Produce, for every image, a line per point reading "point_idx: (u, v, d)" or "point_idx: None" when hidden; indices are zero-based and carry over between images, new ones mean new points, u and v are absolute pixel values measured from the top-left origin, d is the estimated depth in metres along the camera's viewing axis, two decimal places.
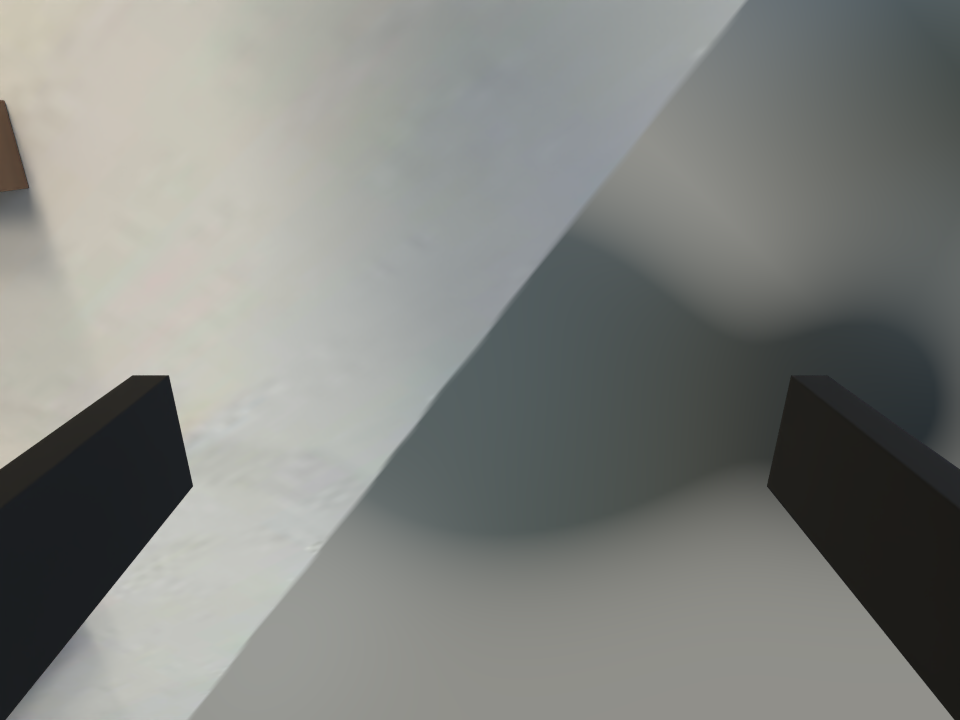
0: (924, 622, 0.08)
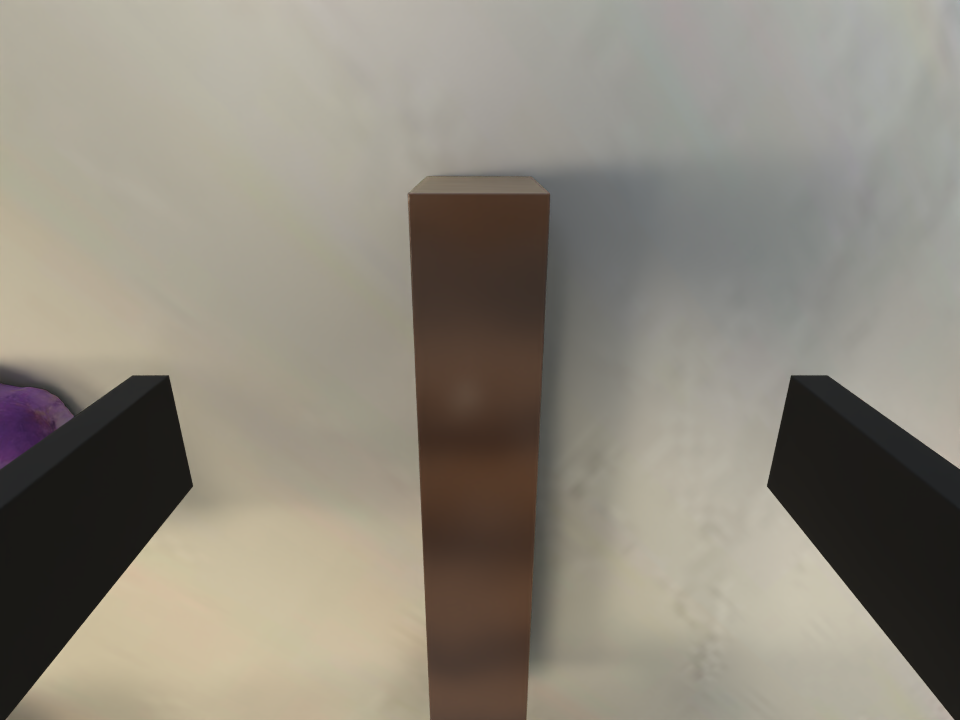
0: (925, 622, 0.08)
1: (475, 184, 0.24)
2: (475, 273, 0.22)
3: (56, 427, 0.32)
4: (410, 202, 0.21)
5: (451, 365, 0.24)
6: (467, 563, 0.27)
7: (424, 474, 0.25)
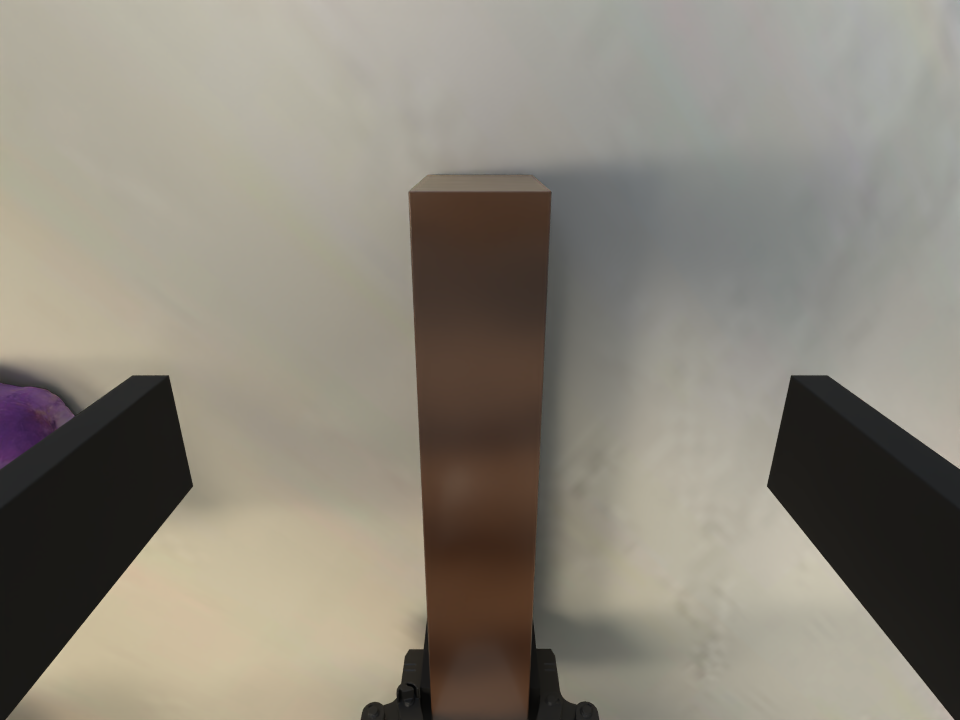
0: (925, 622, 0.08)
1: (476, 182, 0.24)
2: (476, 271, 0.22)
3: (57, 427, 0.32)
4: (411, 200, 0.21)
5: (452, 364, 0.23)
6: (469, 563, 0.27)
7: (425, 473, 0.25)
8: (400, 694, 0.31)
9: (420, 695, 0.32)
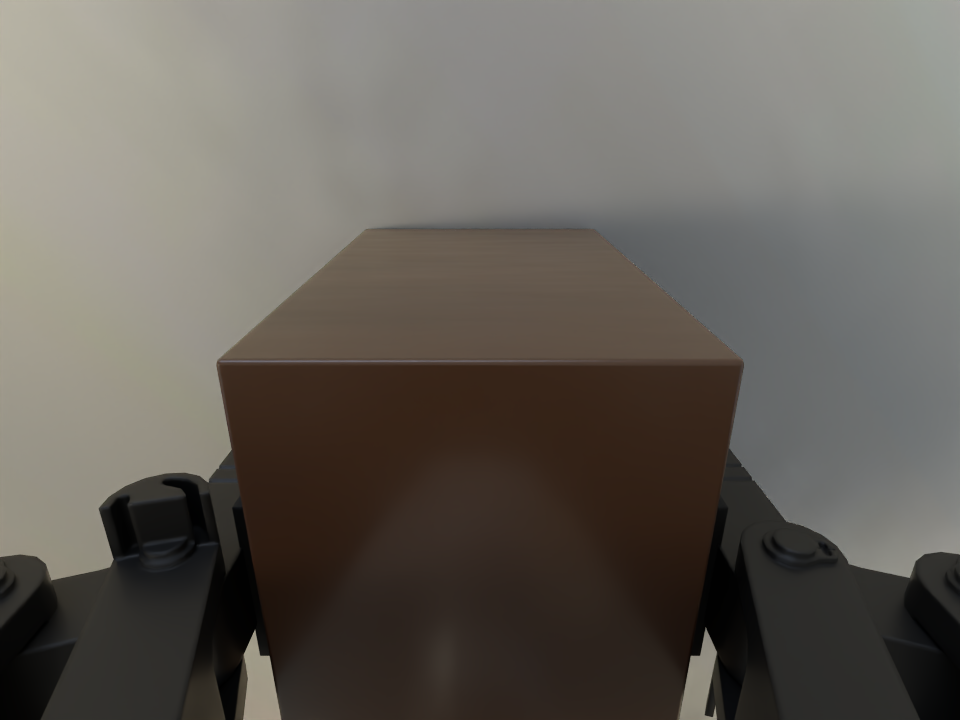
0: None
1: (470, 276, 0.09)
2: (468, 597, 0.07)
3: None
4: (227, 392, 0.06)
5: None
6: None
7: None
8: None
9: None
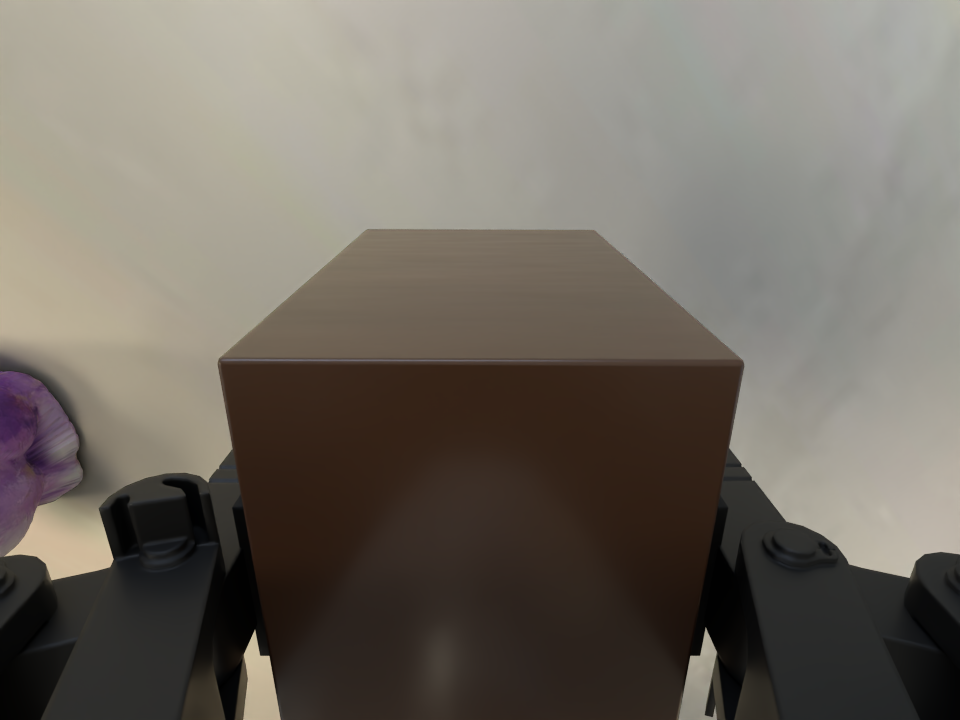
0: None
1: (471, 276, 0.09)
2: (468, 596, 0.07)
3: (39, 413, 0.30)
4: (229, 391, 0.06)
5: None
6: None
7: None
8: None
9: None
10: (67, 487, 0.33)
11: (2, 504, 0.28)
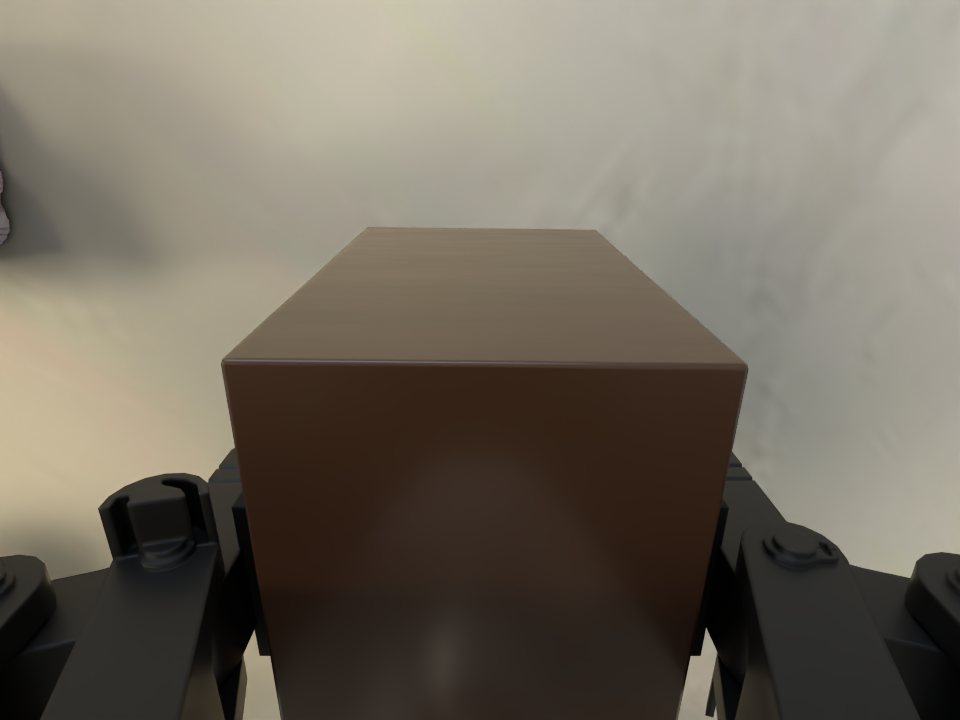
0: None
1: (473, 276, 0.09)
2: (469, 598, 0.07)
3: None
4: (232, 391, 0.06)
5: None
6: None
7: None
8: None
9: None
10: None
11: None
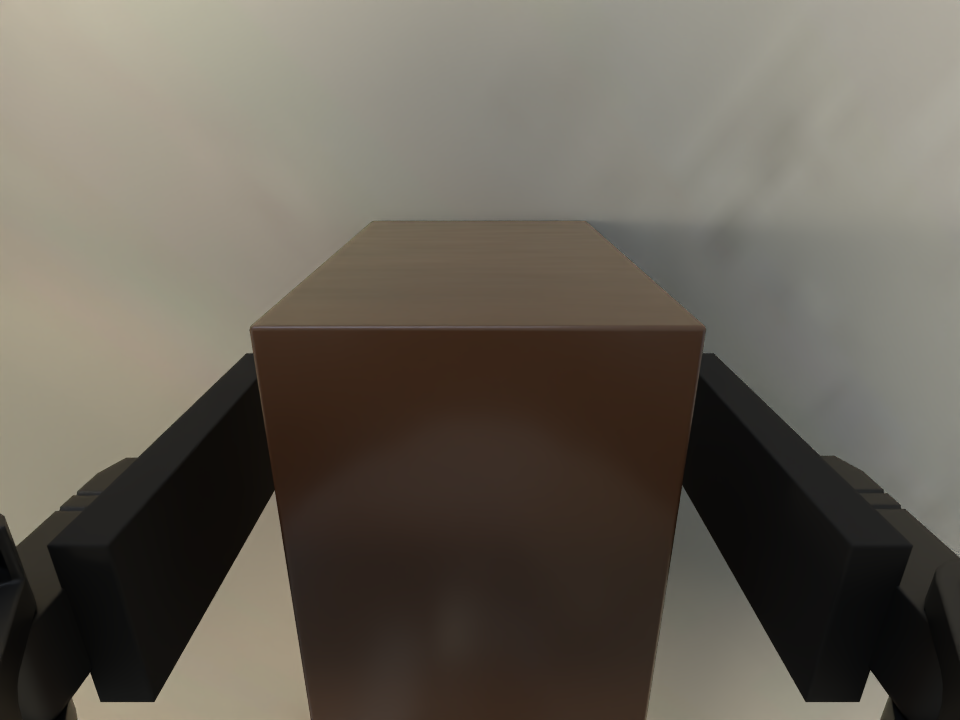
0: (755, 561, 0.10)
1: (469, 260, 0.10)
2: (467, 540, 0.08)
3: None
4: (259, 354, 0.07)
5: None
6: None
7: None
8: None
9: None
10: None
11: None
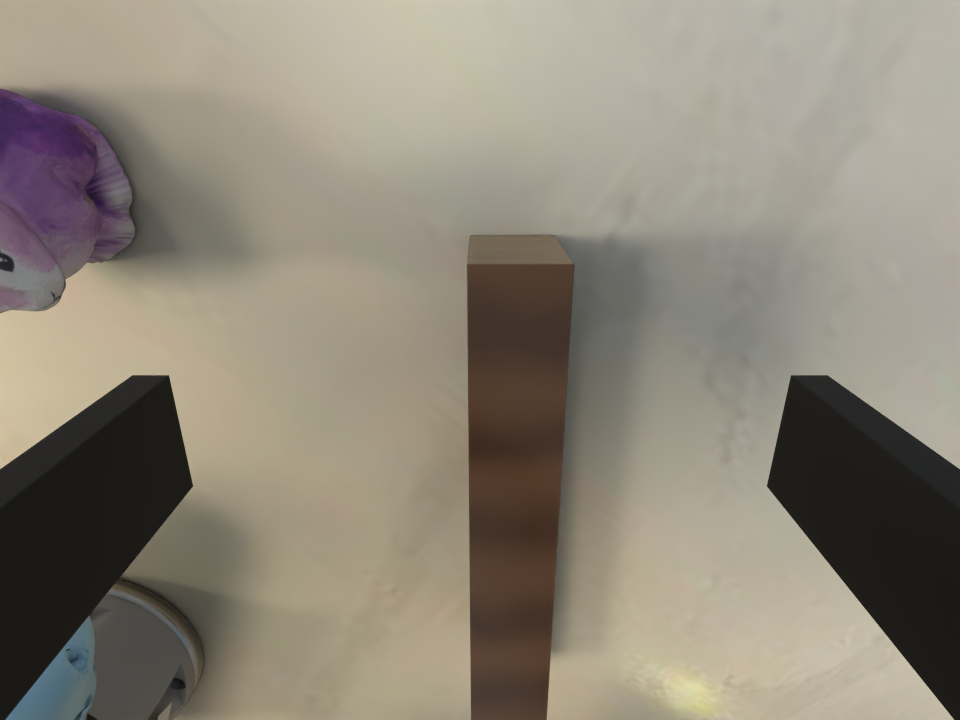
0: (925, 622, 0.08)
1: (513, 249, 0.31)
2: (516, 322, 0.29)
3: (97, 154, 0.32)
4: (469, 270, 0.28)
5: (496, 391, 0.30)
6: (504, 546, 0.34)
7: (472, 475, 0.32)
8: None
9: None
10: (121, 241, 0.35)
11: (69, 214, 0.29)
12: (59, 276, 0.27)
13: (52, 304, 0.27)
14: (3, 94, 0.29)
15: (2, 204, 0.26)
